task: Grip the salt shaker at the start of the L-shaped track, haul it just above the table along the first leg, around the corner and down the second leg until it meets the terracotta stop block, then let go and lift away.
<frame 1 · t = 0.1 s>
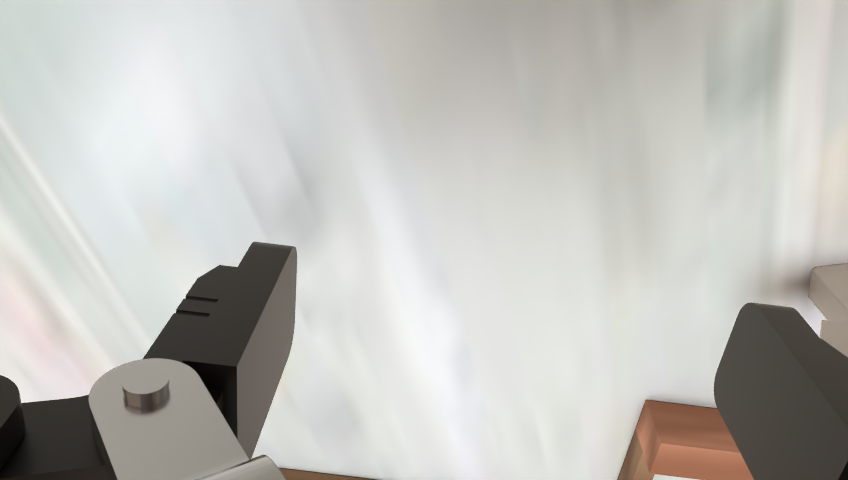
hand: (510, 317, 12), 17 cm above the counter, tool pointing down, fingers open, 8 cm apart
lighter: (821, 279, 32), on the counter
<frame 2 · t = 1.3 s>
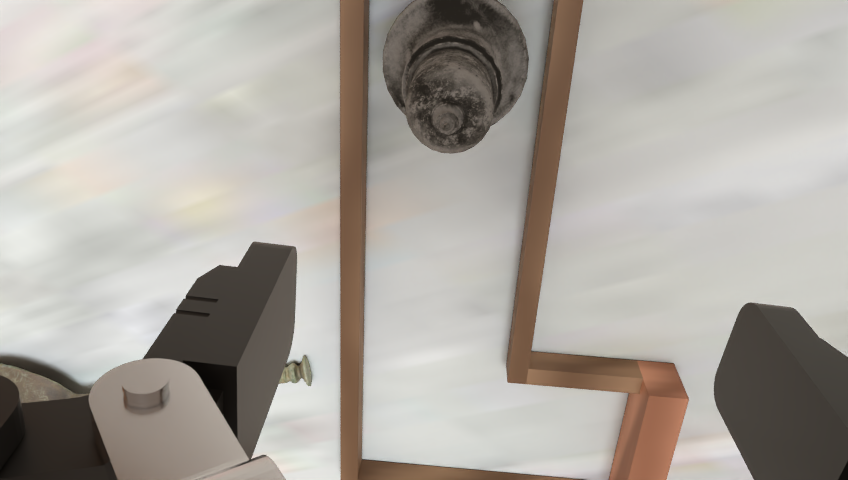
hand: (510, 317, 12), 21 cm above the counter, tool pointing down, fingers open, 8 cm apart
salt shaker: (457, 47, 31), resting in track
track: (520, 252, 35), on the counter
soupspoon: (140, 379, 42), on the counter
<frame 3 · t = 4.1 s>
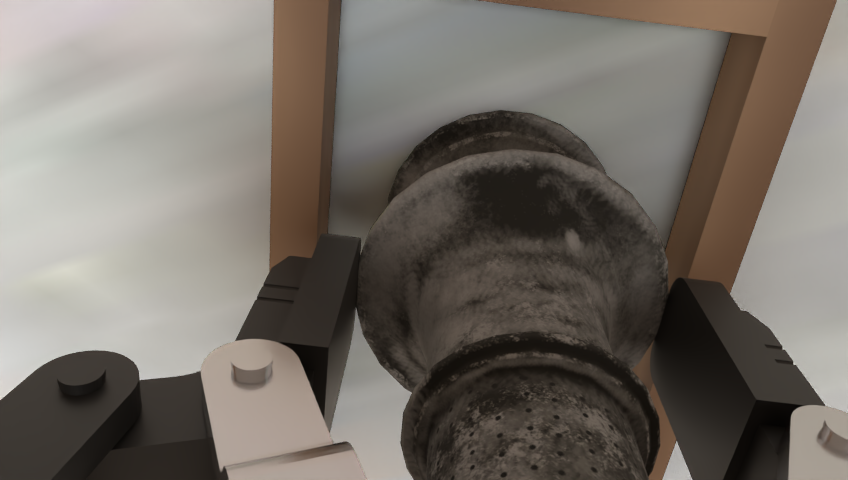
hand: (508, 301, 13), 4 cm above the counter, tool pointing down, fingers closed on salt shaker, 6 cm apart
salt shaker: (498, 217, 16), resting in track, touching gripper
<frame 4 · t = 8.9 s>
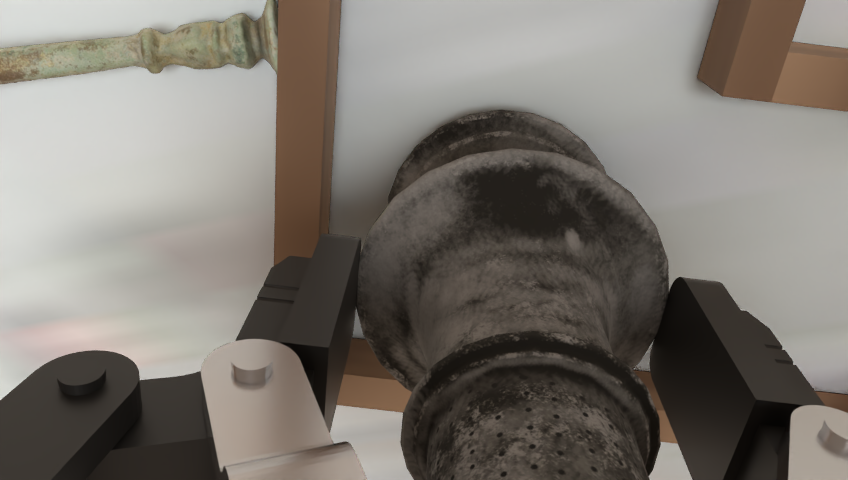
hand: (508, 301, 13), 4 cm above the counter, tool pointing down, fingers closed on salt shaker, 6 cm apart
salt shaker: (498, 217, 16), point 1 cm above the counter, touching gripper
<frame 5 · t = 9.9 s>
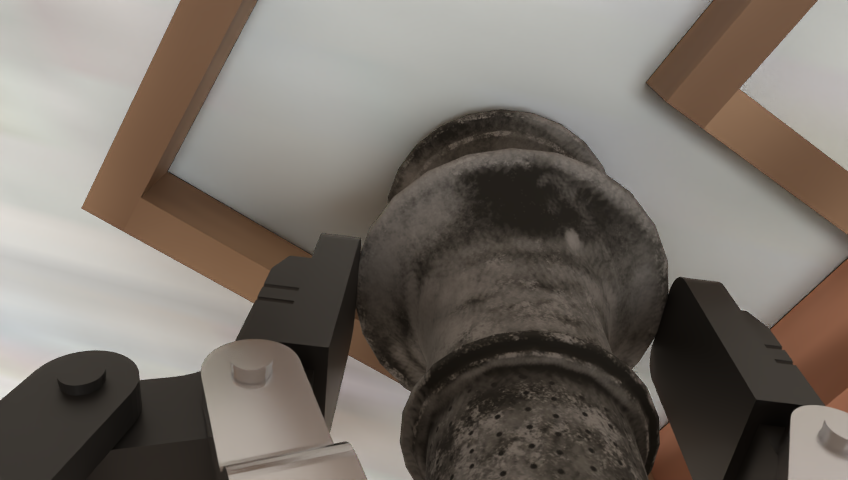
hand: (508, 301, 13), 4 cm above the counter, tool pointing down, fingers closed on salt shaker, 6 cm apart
salt shaker: (498, 216, 16), resting in track, touching gripper
when the fingers open (4 cm above the counter, at t = 12.6 s): salt shaker stays where it is, resting in track.
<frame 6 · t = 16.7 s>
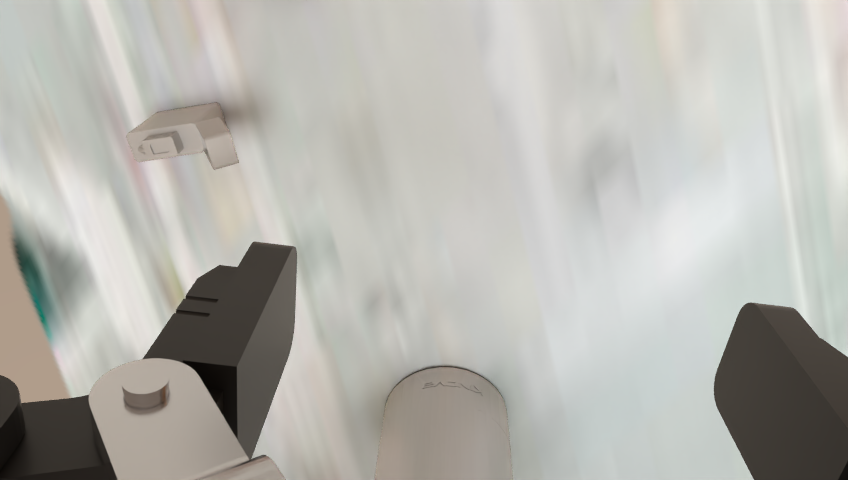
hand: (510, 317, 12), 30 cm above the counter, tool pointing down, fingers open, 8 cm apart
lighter: (215, 116, 43), on the counter
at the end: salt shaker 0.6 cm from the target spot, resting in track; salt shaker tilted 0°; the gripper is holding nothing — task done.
